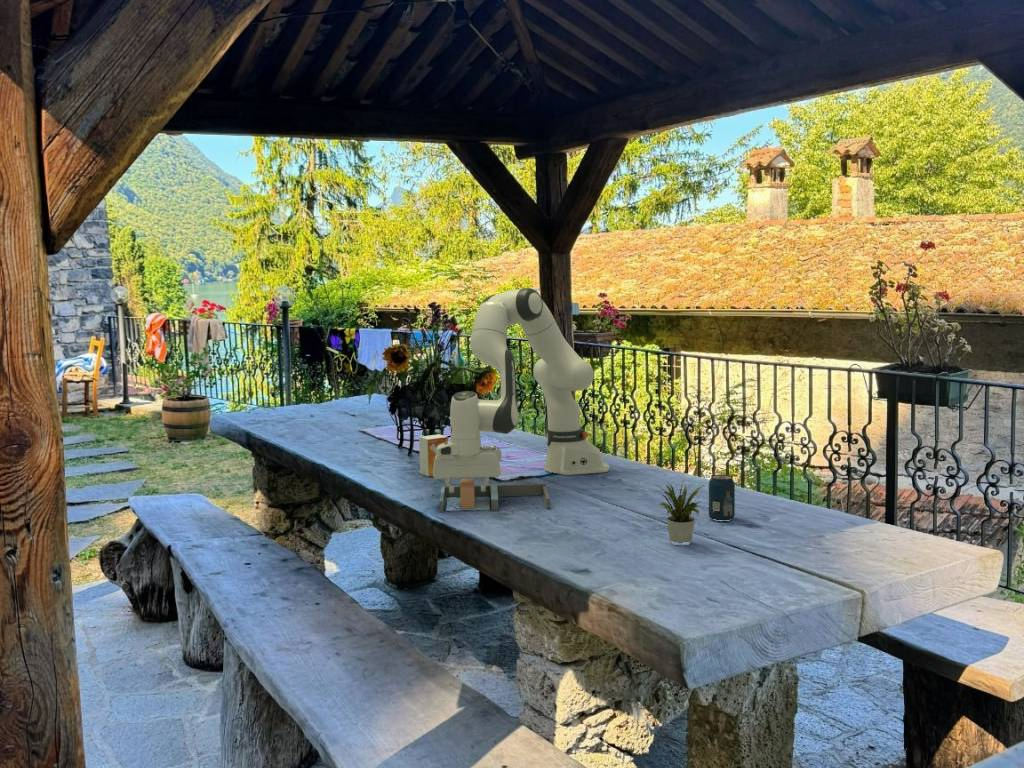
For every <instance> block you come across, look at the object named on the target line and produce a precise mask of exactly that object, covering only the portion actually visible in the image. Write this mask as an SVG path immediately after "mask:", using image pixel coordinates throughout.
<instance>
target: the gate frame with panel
mask: <svg viewBox="0 0 1024 768" xmlns="http://www.w3.org/2000/svg"><path fill="white" fill-rule="evenodd" d="M481 485H482V484H480V485H478V484H477V485H474V491H475V508H469V509H461V498H460V485H453V486H454V493H449V488H448V486H447V485H446V486H441V489H440V495H439V512H440V511H443V510H444V511H445V504H446V501H447V500H448V499H449V500H451V501H452V502H451V501H450V502H451V503H452V504H453V503H455V501H458V502H457V503H458V504H457V503H456V504H457V505H459V507H460V508H456V507H454V509H455V508H456V510H458V509H459V510H475V511H476V510H480V511H490V510H491V512H492V511H493V512H494V511H499V498H501V497H502V498H503V497H529V496H542V497H543V500H544V505H545V509H546V510H549V509H550V508H551V500H550V499H551V497H550V495H549V491H548V488H547V484H546V483H518V484H517V483H513V484H512V483H511V484H487V486H486V492H481ZM445 497H447V498H445ZM450 497H456V498H450ZM452 499H453V500H452ZM444 503H445V504H444ZM448 503H449V502H448ZM451 503H450V504H451ZM450 506H452V505H450ZM452 507H453V506H452ZM444 511H443V512H444ZM475 511H474V512H475Z"/></svg>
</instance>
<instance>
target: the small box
mask: <svg viewBox="0 0 1024 768" xmlns="http://www.w3.org/2000/svg"><path fill="white" fill-rule="evenodd" d="M448 441H449V439H448V436H446V435H442V434H439V433H437V434H432V435H431V434H429V435H425V436H424V435H423V436H418V445H419V447H418V449H419V473H420V474H421V475H423V476H425V477H433V465H434V459H435V456H436V455H437V452H436V449H437V446H438V445H440V444H442V443H445V442H448Z"/></svg>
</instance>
